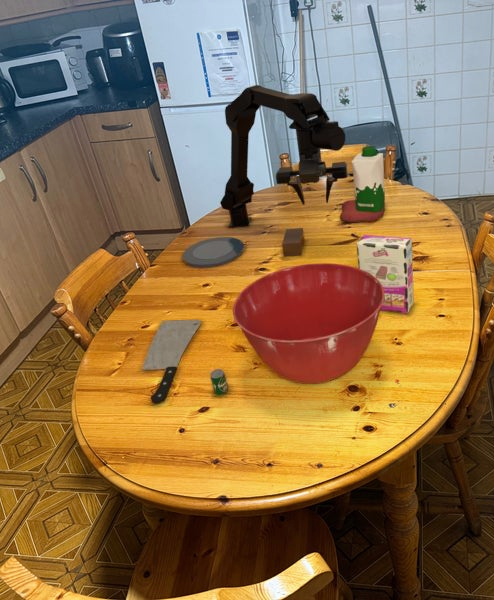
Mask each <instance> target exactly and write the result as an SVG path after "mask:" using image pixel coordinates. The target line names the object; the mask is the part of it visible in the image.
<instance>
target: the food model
mask: <svg viewBox="0 0 494 600" xmlns="http://www.w3.org/2000/svg"><path fill="white" fill-rule="evenodd" d="M341 208H342V209H341V211H342V212H341V213H340V215H339V218H340V220H341V221H343V222H346V223H361V222H364V223H365V222H366V223H372V222H376V221H378V220H380V219H381V218H382V217H383V216H384V215H385V214H384V212H385V207H384V208H383V209H382V210H381V211H380V212H377V213H374V212H362V211H357V210H356V203H355V199H350V200H345V201H343V202H342V203H341Z"/></svg>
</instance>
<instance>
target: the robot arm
mask: <svg viewBox="0 0 494 600" xmlns="http://www.w3.org/2000/svg"><path fill="white" fill-rule="evenodd" d="M261 107H265V108H268V109H271V110H274V111H277V112H279V111H280V112H282V114H283V113H284V115H285V117H286V118H287V119H290V120H291V121H292V122H291V123H290V125H289V126H288V128H289V129H290V130H295V135H296V136H295V137H296V144H297V150H298V169H295V170H293V169H294V168H293V166H284V167H279V168H278V169H277V171H276V173H275V181H276V184H277V185H283V184H284V185H285V184H286V185H287V186H288V187H291V188H292V189H293V190H294V191H295V192H296V194H297V196H298V198H299V200H300V202H301V204H302V205H303V206H305V202H306V201H305V195H304V189H303V186H302V185H306V184H311V183H313V184H317V183H319V182H320V178H322V177H324V176H325V177H326V179H325V186H326V187H325V203H326V204H328V203H329V199H330V195H331V190H332V187H333V185H334V183H337V182H338V180H340V179H347V178H348V174H349V171H348V163H347V162H346V161H338V162H332V163H331V166H328V167H327V165H326V161H322V153H321V150H328V151H335V152H338V151H340V150H342V149H343V147H344V145H345V143H346V133H345V130H344V129H343V127H341V126H340V125H339V121H337V120H333V121H330V117H329V115H328V114H327V111H326V110H325V109H324V107H323V105H322V104H321V103H320V100H319V99H318V96H317V95H316V94H314V93H311V92H310V93H309V92H303V93H302V92H301V93H294V94H293V93H287V92H283V91H279V90H276V89H271V88H268V87H265V86H264V87H263V86H262V85H259V84H254V85H251V86H248V87H245V88H244V89H243V90H242V91H241V93H240V95H238V96H237V97H236V98H235V99H233V100H232V101H231V102H230V103H228V105H226V106H225V108H224V116H225V124H226V126H227V128H228V129H229V131H230V135H231V136H230V139H231V141H230V177H229V178H228V180H227V182H226V184H225V188H224V195H223V196H222V198H221V200H220V202H219V203H220V206H221V208H222V210H227V211H228V214H229V218H230V223H229V224H228V228H229V229H230V228H242V227H243V228H245V227H249V226H250V224H251V221H252V217H251V216H249V214H248V208H247V204H249V203H252V200H253V199H252V198H253V195H255V192H254V186H255V183H253V181H252V182H251V180H250V179H249V177H248V167H249V166H248V163H249V139H250V138H249V137H250V136H249V135H250V131H251V129H252V128H253V126H254V125H255V123H256V115H257V112H258V110H259V109H260V108H261Z"/></svg>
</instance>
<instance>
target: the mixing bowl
mask: <svg viewBox="0 0 494 600" xmlns="http://www.w3.org/2000/svg"><path fill="white" fill-rule="evenodd" d="M383 301H384V289H383V286H382V284H381V283H380V282H379V280H378V279H377V278H376V277H374V276H373V275H372V274H370V273H368V272H366V271H364V270H362V269H359V267H356V266H352V265H348V264H341V263H333V262H332V263H330V262H329V263H328V262H323V263H322V262H321V263H320V262H319V263H306V264H299V265H294V266H288V267H285V268H282V269H278V270H275V271H273V272H270V273H268V274H265V275H263V276H261V277H260V278H257V279H256V280H255V281H252V282H251V283H250V284H248V285H247V286H246V287H244V289H243V290H242V291H241V292H239V294H238V296H237V297H236V299H235V301H234V303H233V305H232V306H233V307H232V316H233V319H234V321H235V322H236V324H237V325H238V327H239V328H240V329H241V331H242V333H243V335H244V337H245V338H246V340H247V342H248V343H249V345H250V346H251V348H252V349H253V350H254V352H255V353H256V354H257V355H258V357H259V358H260V359H261V360H262V361H263V363H264V364H265V365H266V366H268V368H269V369H270V370H272V371H273V372H274V373H276V375H279V376H280V377H282V378H284V379H287V380H288V381H292V382H295V383H299V384H320V383H325V382H329V381H332V380H335V379H338V378H339V377H342V376H344V375H346V374H347V373H348V372H350V371H351V370H352V369H353V368H355V366H356V365H357V364H358V363H359V362H360V361H361V359H362V358H363V356H364V354H365V352H366V351H367V348H368V346H369V345H370V343H371V340H372V338H373V335H374V333H375V330H376V327H377V324H378V321H379V316H380V312H381V310H380V308H381V305H382V303H383Z"/></svg>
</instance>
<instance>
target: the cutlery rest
mask: <svg viewBox="0 0 494 600" xmlns="http://www.w3.org/2000/svg"><path fill="white" fill-rule="evenodd" d="M304 245H305V231H304V228H303V227H296V228H294V227H293V228H285V231H284V236H283V239H282V242H281V247H282V254H283V257H284V258H287V257H302V255H303V251H304V247H305V246H304Z"/></svg>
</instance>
